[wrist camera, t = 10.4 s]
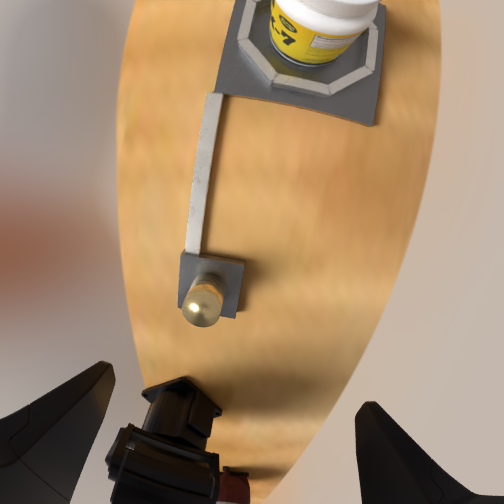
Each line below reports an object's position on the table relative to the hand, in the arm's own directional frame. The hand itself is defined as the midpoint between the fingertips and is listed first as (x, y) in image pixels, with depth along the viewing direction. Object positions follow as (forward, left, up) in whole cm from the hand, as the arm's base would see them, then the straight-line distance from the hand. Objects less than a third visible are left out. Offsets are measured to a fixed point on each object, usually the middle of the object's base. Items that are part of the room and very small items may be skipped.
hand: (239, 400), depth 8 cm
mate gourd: (-23, -30, -12) cm, 39 cm away
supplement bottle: (+11, +11, -11) cm, 19 cm away
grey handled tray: (+6, +5, -12) cm, 14 cm away
